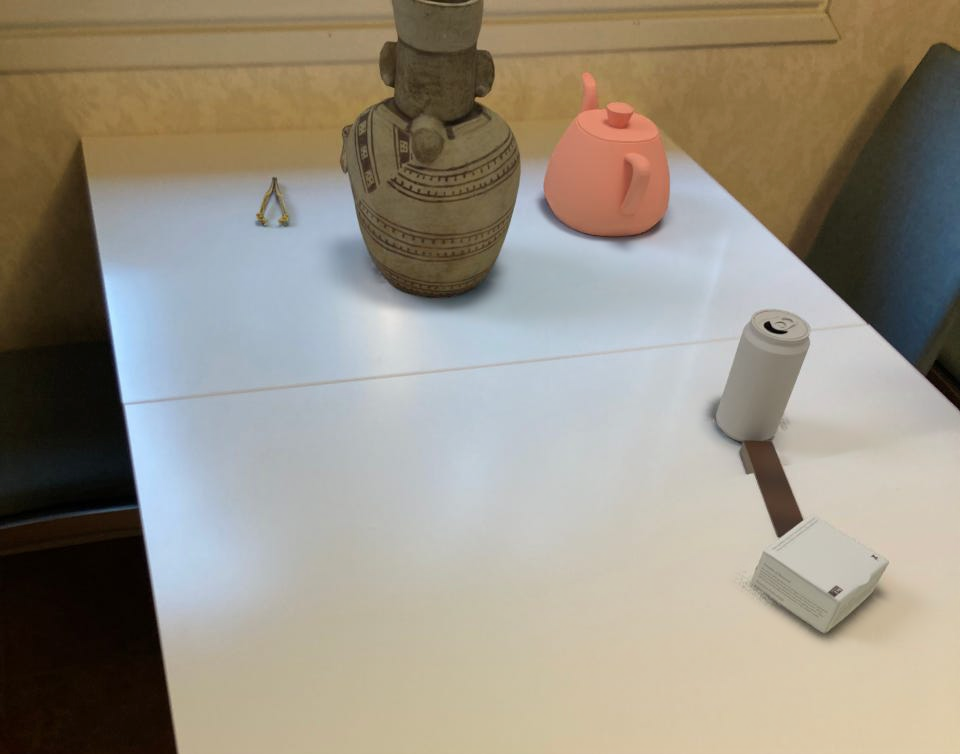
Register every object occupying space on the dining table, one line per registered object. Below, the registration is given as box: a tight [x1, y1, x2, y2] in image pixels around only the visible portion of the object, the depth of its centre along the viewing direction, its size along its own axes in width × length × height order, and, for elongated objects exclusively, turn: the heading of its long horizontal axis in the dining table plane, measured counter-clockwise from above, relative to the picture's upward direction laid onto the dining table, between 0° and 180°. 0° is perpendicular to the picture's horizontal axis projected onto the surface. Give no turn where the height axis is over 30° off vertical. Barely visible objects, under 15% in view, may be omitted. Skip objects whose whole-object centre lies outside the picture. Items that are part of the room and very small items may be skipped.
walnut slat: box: [739, 440, 804, 539], centre depth 89 cm, size 14×3×2 cm, turn 2°
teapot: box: [542, 71, 671, 237], centre depth 123 cm, size 25×17×13 cm
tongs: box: [255, 176, 290, 227], centre depth 121 cm, size 4×13×2 cm, turn 12°
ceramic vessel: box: [339, 0, 522, 299], centre depth 102 cm, size 19×21×30 cm
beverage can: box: [715, 308, 812, 443], centre depth 92 cm, size 6×6×12 cm
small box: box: [749, 513, 890, 634], centre depth 79 cm, size 8×8×5 cm
